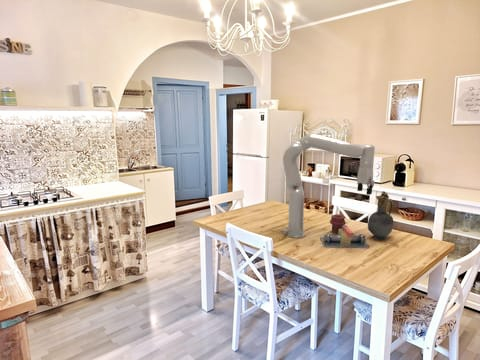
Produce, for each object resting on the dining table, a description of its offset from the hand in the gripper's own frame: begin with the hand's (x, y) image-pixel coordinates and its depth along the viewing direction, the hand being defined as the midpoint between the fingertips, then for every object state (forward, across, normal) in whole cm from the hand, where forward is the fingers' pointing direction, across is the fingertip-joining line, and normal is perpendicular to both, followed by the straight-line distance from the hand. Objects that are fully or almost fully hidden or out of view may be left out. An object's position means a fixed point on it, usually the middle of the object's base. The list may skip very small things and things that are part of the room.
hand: (364, 192), depth 199 cm
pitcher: (+30, +2, +13) cm, 33 cm away
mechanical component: (+30, -12, -10) cm, 34 cm away
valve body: (+30, +6, -15) cm, 34 cm away
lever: (+21, +11, -16) cm, 29 cm away
